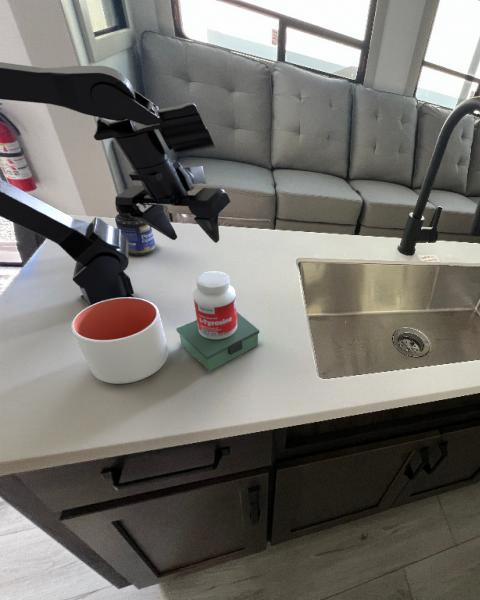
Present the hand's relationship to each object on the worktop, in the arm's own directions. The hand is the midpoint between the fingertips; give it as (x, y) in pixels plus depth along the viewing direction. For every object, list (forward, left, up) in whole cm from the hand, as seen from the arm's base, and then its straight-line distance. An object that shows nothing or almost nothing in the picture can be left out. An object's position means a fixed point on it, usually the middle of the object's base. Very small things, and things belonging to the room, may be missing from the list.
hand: (196, 240), depth 65 cm
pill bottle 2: (-6, -17, -9) cm, 20 cm away
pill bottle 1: (-2, +21, -13) cm, 25 cm away
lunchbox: (-6, -17, -12) cm, 22 cm away
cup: (-18, -12, -13) cm, 25 cm away
